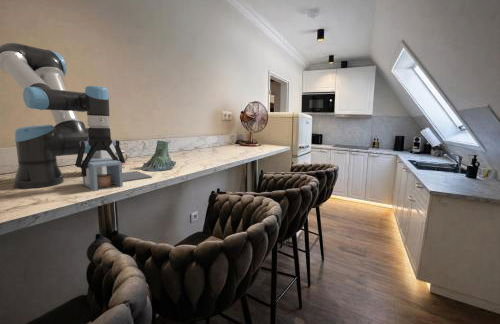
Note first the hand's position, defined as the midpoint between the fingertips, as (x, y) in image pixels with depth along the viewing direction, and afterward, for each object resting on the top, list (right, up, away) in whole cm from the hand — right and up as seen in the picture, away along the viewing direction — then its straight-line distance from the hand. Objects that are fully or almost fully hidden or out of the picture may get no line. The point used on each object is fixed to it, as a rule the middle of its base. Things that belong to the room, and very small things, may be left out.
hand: (102, 182), depth 100 cm
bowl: (0, -1, 0) cm, 1 cm away
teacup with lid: (-14, +5, +39) cm, 41 cm away
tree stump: (+8, +5, +40) cm, 41 cm away
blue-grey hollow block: (0, -1, 0) cm, 1 cm away
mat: (+3, +1, +16) cm, 16 cm away
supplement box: (-14, +3, +22) cm, 26 cm away
